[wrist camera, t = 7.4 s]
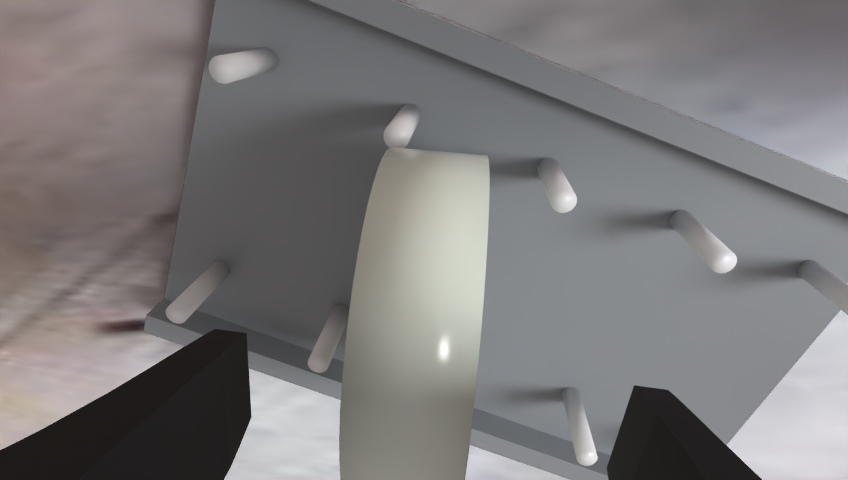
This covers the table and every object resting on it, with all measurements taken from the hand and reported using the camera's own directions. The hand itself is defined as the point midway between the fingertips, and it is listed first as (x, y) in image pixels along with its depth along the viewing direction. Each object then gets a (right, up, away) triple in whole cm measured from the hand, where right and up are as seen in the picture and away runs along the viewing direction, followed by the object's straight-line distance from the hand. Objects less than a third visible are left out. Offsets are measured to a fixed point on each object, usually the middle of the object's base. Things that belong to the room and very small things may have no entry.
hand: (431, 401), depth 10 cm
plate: (0, +3, +8) cm, 9 cm away
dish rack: (+3, +2, +10) cm, 10 cm away
